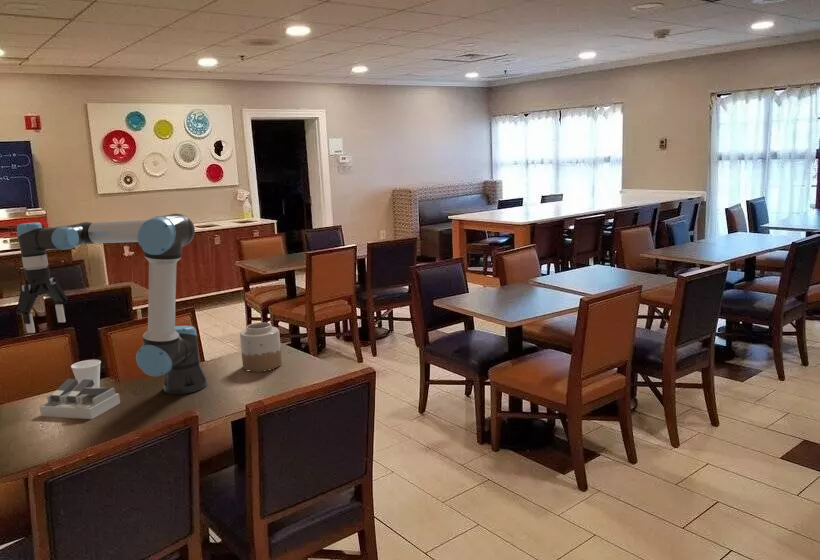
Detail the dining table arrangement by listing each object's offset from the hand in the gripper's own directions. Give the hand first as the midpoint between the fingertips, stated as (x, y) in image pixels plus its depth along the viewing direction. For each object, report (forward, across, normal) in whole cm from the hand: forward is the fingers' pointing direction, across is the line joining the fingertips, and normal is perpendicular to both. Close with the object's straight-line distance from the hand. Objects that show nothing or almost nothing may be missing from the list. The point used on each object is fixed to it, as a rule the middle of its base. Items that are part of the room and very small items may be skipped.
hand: (47, 327), depth 225 cm
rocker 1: (+20, +6, +9) cm, 23 cm away
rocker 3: (+21, +6, +22) cm, 31 cm away
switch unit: (+27, +7, +15) cm, 32 cm away
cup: (+27, -8, +6) cm, 29 cm away
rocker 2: (+21, +6, +16) cm, 26 cm away
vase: (+28, -44, +57) cm, 78 cm away
